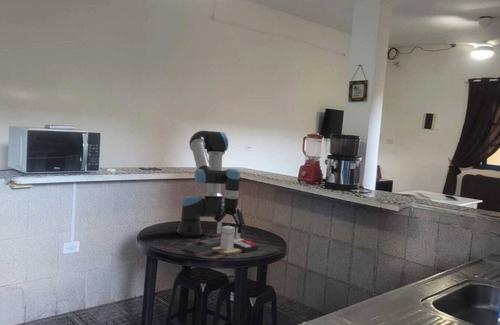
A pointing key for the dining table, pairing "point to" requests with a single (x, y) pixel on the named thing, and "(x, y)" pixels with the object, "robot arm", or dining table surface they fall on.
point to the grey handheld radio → (203, 245)
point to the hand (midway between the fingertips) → (228, 236)
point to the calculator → (245, 245)
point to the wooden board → (225, 252)
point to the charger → (227, 238)
